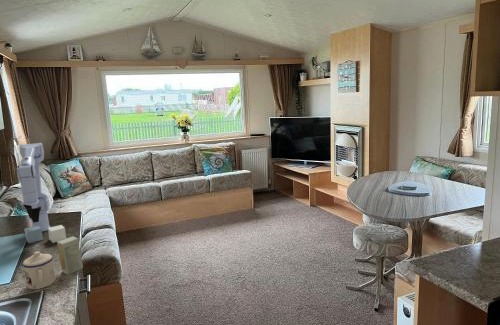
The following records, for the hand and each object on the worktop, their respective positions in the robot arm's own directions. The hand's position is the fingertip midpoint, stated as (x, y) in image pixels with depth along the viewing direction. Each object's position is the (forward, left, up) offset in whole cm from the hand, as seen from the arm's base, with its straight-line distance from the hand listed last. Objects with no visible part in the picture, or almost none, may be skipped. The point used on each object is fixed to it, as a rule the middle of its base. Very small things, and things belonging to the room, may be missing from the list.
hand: (34, 220), depth 168 cm
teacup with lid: (+50, -8, -10) cm, 52 cm away
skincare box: (+46, +3, -10) cm, 47 cm away
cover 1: (-1, -1, -10) cm, 10 cm away
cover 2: (+7, +7, -10) cm, 14 cm away
